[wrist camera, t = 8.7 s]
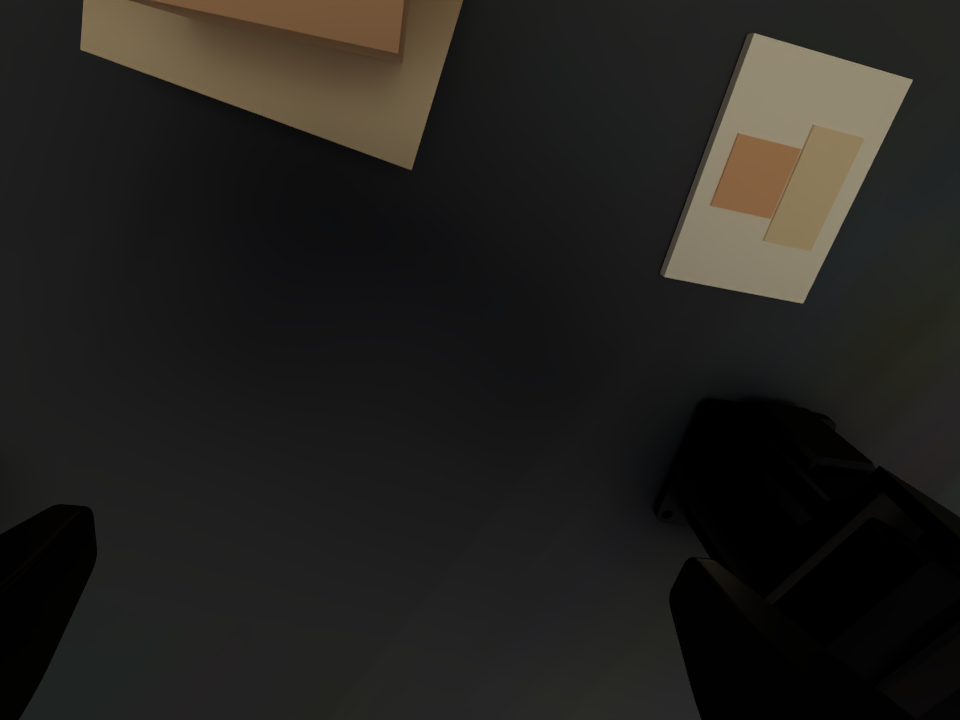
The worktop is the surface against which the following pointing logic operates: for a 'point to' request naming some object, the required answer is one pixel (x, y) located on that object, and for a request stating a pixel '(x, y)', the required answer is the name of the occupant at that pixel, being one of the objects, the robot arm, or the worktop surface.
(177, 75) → the maple base block
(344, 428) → the worktop surface
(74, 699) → the worktop surface
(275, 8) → the terracotta cube
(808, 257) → the card
